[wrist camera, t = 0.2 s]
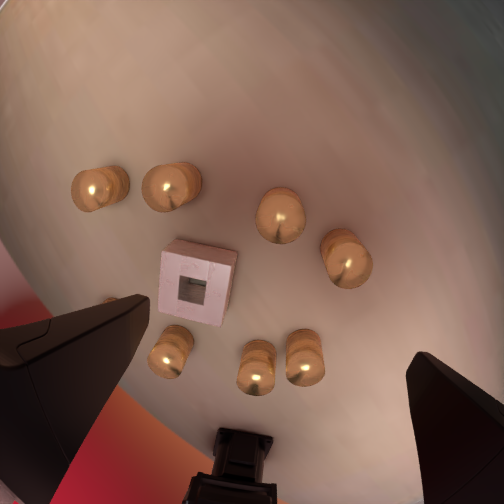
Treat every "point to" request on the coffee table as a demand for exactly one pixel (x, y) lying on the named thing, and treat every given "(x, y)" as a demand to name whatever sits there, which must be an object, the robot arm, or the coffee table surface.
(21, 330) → the robot arm
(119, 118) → the coffee table surface
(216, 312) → the zinc nut
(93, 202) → the spacers
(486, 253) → the coffee table surface
